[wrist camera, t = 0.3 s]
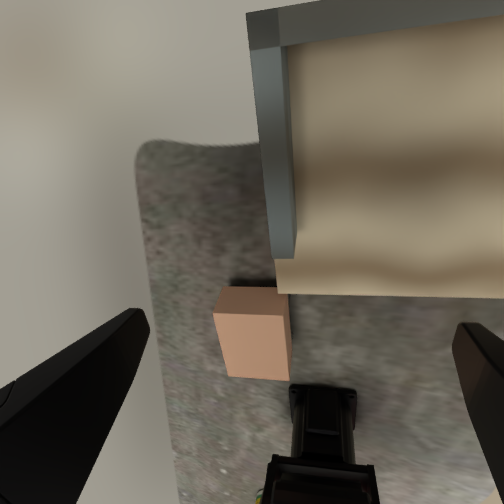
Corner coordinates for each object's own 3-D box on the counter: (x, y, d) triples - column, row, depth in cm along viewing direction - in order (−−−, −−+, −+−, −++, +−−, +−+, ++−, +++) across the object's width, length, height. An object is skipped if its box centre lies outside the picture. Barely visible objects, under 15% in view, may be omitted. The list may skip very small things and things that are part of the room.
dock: (519, 274, 22) (572, 336, 17) (281, 272, 25) (272, 324, 20) (644, -42, 13) (813, -84, 9) (258, 21, 17) (235, 14, 12)
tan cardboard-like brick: (294, 340, 29) (290, 381, 25) (238, 337, 30) (227, 376, 27) (289, 277, 25) (284, 315, 22) (225, 277, 26) (211, 313, 23)
